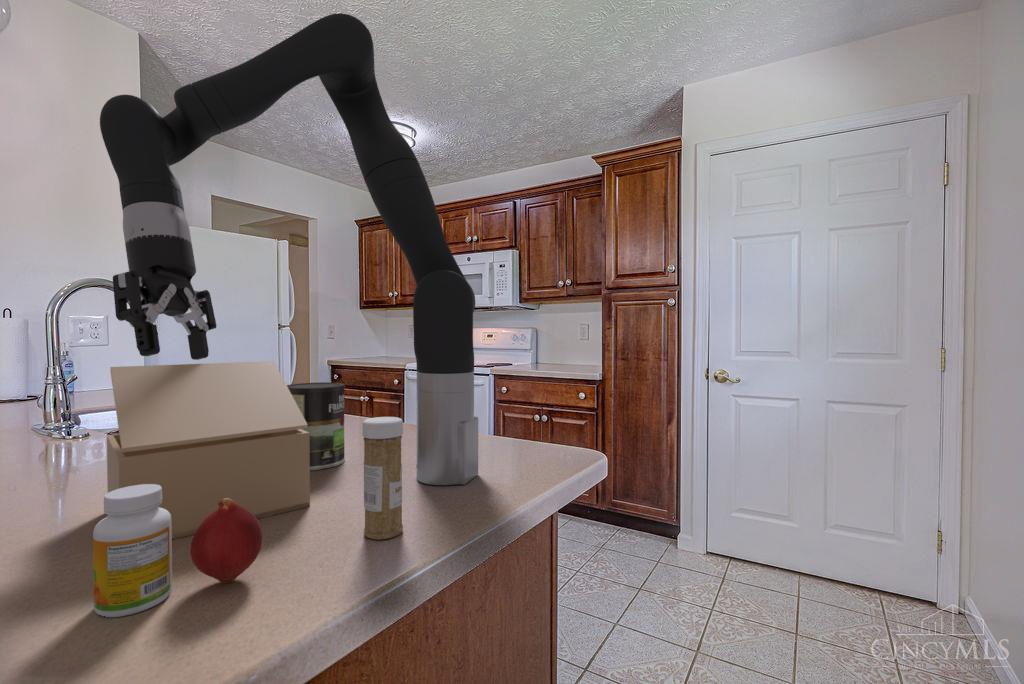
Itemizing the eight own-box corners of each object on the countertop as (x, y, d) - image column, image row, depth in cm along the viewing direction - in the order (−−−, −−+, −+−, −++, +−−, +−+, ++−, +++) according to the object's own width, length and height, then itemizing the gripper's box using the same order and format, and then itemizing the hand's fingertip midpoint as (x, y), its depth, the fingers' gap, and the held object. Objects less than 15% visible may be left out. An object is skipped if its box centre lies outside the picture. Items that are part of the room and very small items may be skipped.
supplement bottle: (106, 592, 44) (105, 485, 43) (178, 580, 46) (177, 478, 46) (83, 625, 39) (81, 505, 38) (164, 610, 41) (163, 496, 41)
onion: (212, 567, 48) (212, 488, 48) (272, 565, 49) (272, 486, 49) (177, 599, 42) (176, 509, 42) (245, 597, 43) (245, 507, 43)
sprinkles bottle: (408, 535, 56) (408, 420, 56) (369, 544, 54) (369, 424, 53) (395, 522, 60) (395, 414, 60) (357, 530, 57) (357, 417, 57)
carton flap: (110, 370, 61) (110, 367, 61) (273, 364, 75) (273, 361, 74) (122, 452, 52) (122, 448, 51) (306, 428, 65) (307, 424, 65)
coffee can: (353, 455, 92) (353, 382, 92) (332, 471, 82) (332, 388, 81) (299, 455, 92) (299, 381, 92) (271, 471, 82) (271, 388, 81)
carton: (107, 511, 63) (106, 435, 63) (271, 479, 77) (271, 417, 77) (119, 552, 51) (118, 459, 51) (309, 506, 65) (309, 432, 65)
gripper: (139, 219, 60) (159, 346, 58) (220, 250, 74) (237, 353, 72) (84, 234, 60) (102, 360, 58) (175, 262, 74) (191, 365, 72)
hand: (177, 356), depth 65 cm, fingers open, 8 cm apart
